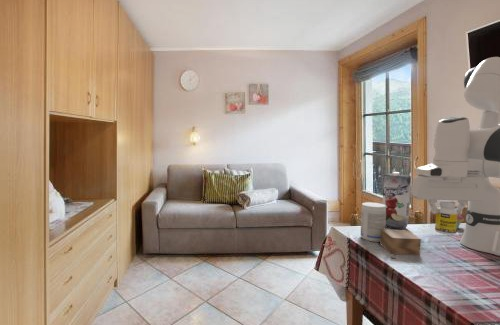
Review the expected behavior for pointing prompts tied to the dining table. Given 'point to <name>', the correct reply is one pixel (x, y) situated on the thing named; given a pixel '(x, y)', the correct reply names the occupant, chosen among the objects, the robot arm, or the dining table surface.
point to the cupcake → (459, 220)
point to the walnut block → (400, 242)
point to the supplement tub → (372, 221)
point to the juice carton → (397, 200)
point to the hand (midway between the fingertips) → (446, 213)
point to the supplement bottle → (446, 218)
